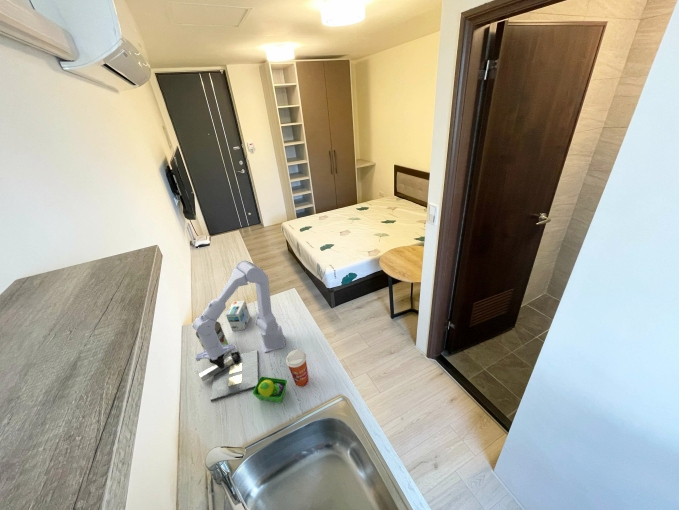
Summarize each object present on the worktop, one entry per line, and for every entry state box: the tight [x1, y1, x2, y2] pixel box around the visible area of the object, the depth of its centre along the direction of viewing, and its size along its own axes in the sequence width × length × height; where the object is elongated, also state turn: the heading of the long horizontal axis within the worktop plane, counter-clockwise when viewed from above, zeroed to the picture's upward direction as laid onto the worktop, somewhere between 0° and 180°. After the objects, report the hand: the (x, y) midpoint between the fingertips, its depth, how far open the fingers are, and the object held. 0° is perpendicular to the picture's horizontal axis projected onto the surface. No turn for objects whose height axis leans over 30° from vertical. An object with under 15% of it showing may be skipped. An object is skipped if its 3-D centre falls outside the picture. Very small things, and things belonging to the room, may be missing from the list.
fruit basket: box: [252, 376, 288, 404], centre depth 102 cm, size 11×9×11 cm
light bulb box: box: [225, 300, 251, 331], centre depth 140 cm, size 11×7×11 cm, turn 179°
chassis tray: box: [209, 348, 259, 402], centre depth 114 cm, size 18×19×5 cm
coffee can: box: [195, 320, 229, 361], centre depth 124 cm, size 10×10×14 cm
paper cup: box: [285, 348, 309, 388], centre depth 106 cm, size 8×8×14 cm
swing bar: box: [198, 354, 239, 383], centre depth 115 cm, size 2×16×3 cm, turn 130°
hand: (222, 366), depth 112 cm, fingers closed
